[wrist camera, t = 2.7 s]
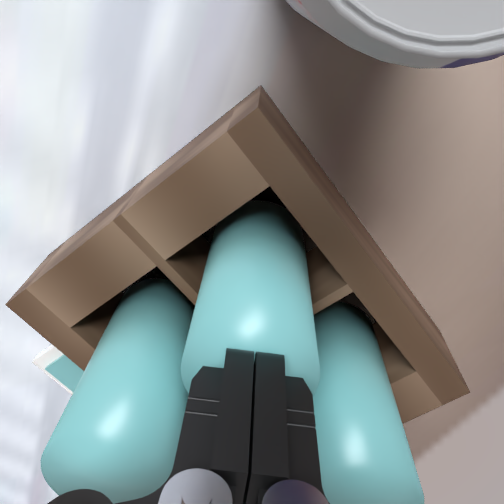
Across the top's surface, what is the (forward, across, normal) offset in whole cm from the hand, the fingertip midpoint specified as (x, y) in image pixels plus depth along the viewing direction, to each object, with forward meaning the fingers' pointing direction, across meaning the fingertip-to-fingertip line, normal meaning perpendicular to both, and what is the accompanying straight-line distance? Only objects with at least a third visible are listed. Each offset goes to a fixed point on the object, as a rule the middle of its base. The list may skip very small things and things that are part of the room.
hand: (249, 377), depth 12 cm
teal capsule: (+7, 0, 0) cm, 7 cm away
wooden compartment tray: (+9, 0, +3) cm, 10 cm away
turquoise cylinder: (+7, -4, +3) cm, 8 cm away
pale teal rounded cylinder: (+7, +4, +3) cm, 8 cm away
